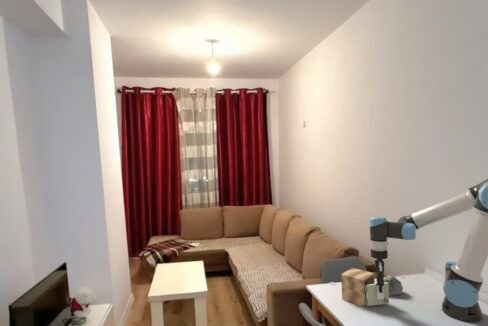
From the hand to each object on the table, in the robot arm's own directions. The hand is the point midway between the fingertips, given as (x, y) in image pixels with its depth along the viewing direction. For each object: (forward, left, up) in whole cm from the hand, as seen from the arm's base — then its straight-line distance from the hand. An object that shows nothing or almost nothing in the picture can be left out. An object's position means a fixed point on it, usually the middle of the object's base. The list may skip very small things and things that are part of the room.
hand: (380, 298), depth 146 cm
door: (+2, -2, -4) cm, 5 cm away
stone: (+3, -22, -6) cm, 23 cm away
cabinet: (+13, -4, -5) cm, 14 cm away
